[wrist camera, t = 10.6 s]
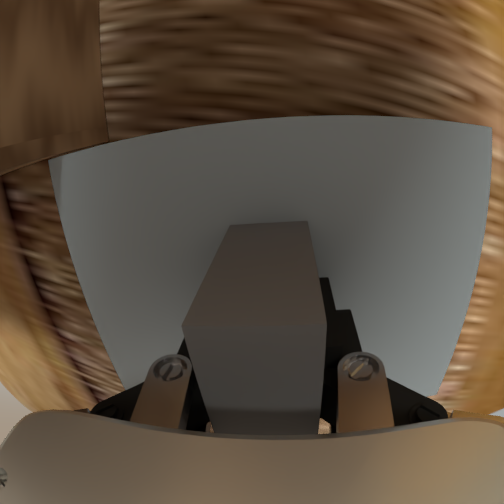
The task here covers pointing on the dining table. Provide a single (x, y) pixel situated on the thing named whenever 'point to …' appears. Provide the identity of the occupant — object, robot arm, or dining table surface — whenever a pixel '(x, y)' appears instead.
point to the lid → (278, 252)
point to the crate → (49, 80)
